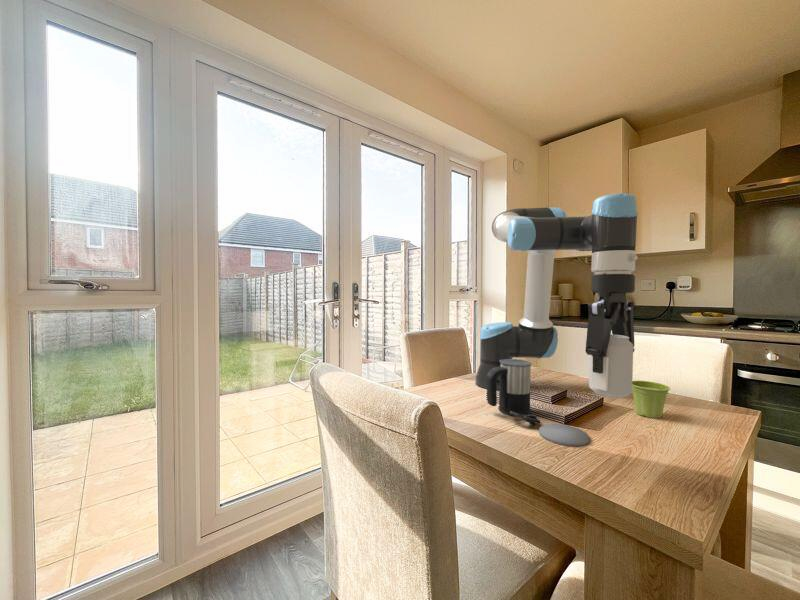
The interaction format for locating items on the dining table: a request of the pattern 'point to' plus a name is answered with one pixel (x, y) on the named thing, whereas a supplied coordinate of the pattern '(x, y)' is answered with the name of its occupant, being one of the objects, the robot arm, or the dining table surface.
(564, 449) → the dining table surface
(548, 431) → the coaster
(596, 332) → the robot arm
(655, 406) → the plant pot
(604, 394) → the can
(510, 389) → the milk frother
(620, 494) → the dining table surface
